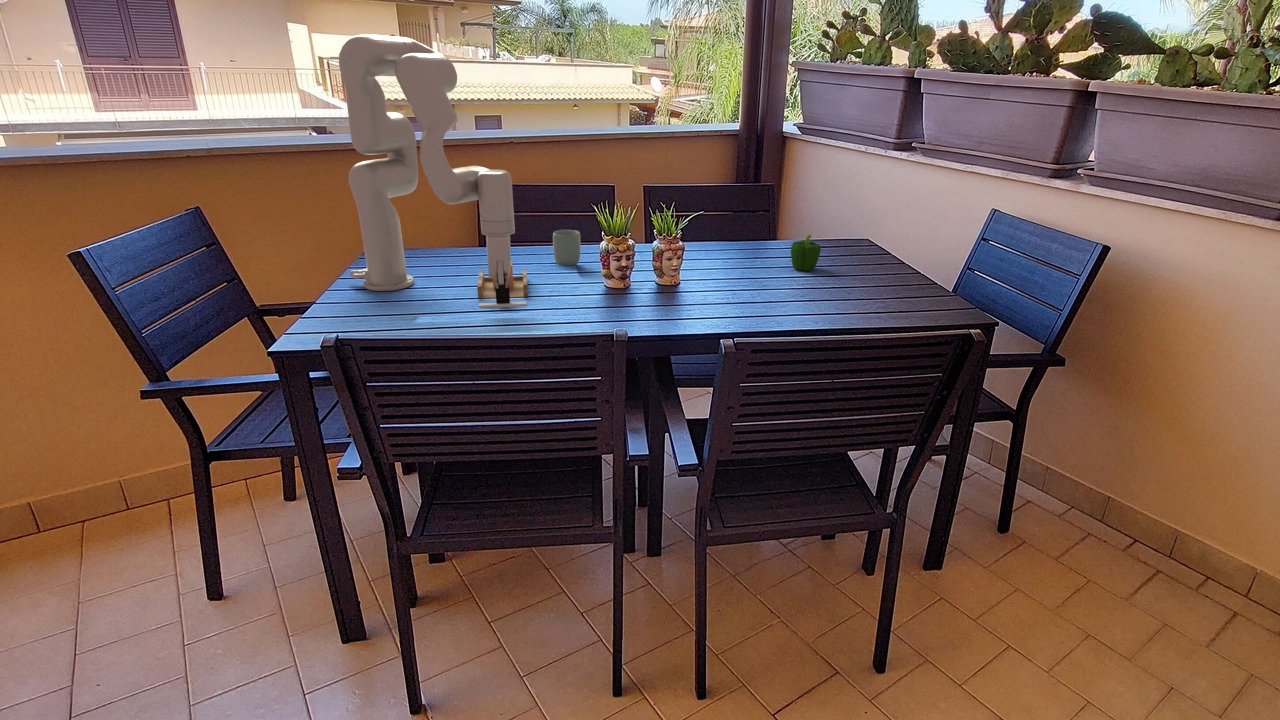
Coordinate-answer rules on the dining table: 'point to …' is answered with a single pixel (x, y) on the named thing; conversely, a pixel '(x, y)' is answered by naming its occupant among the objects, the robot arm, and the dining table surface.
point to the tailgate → (502, 304)
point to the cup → (566, 247)
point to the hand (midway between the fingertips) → (503, 302)
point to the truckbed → (519, 289)
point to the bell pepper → (805, 254)
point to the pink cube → (510, 279)
